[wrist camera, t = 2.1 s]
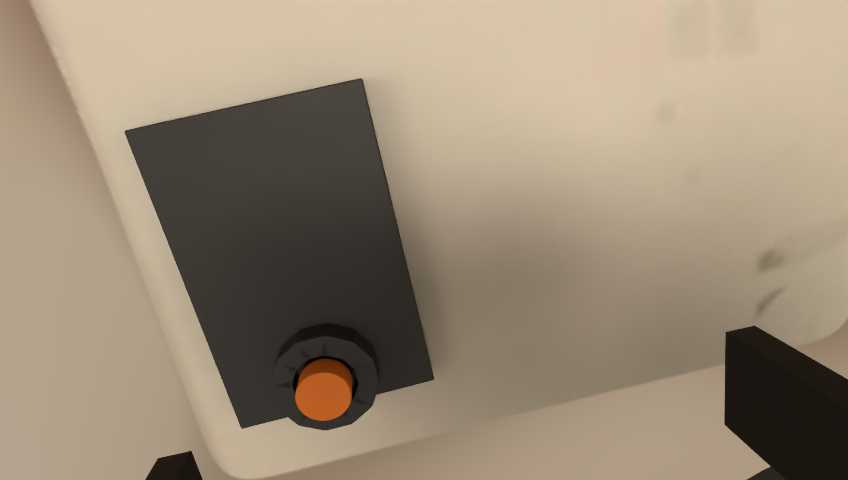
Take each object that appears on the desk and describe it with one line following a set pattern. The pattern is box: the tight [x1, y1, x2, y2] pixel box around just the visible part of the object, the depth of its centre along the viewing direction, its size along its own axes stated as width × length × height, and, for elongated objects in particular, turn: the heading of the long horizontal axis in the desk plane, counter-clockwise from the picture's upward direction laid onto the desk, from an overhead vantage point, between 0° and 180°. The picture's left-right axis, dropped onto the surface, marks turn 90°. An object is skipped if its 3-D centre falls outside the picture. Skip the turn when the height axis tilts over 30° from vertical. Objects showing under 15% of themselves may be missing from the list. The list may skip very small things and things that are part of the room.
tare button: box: [295, 359, 353, 421], centre depth 26 cm, size 3×3×2 cm
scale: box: [125, 78, 434, 430], centre depth 26 cm, size 18×12×3 cm, turn 12°
